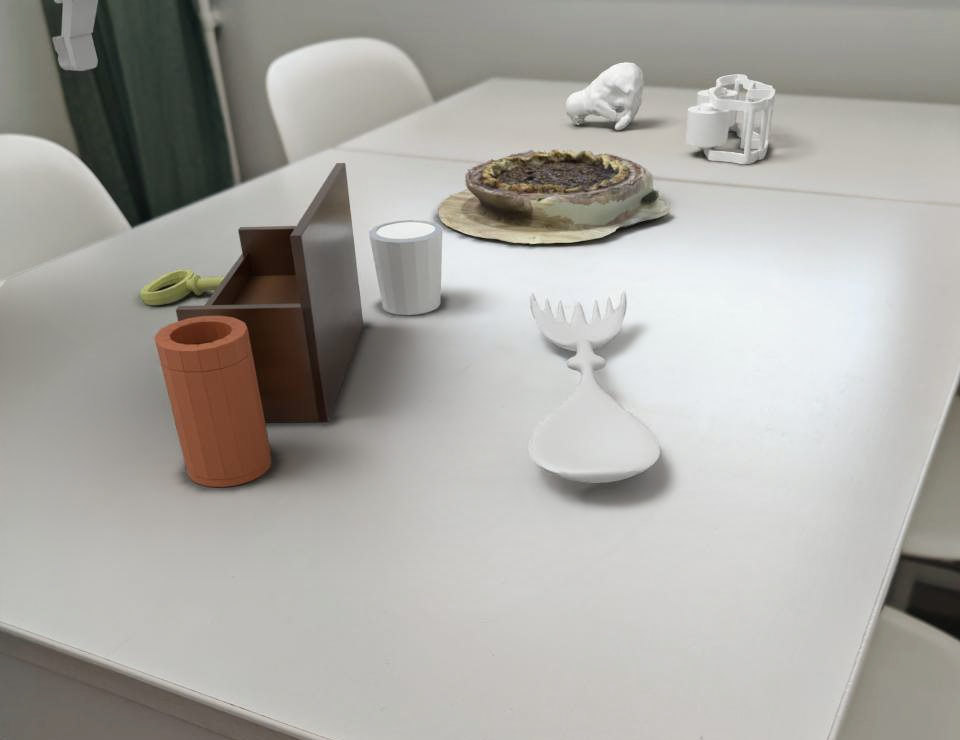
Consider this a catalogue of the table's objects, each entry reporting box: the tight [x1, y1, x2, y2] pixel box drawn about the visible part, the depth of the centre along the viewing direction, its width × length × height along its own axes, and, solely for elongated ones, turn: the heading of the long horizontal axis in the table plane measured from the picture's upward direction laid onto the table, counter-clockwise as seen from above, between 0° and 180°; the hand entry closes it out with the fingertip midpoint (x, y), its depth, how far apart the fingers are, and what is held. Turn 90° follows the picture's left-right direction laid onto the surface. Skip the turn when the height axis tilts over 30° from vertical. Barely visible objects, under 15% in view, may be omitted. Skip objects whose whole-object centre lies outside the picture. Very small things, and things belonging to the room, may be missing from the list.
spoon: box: [528, 290, 661, 484], centre depth 78 cm, size 9×32×4 cm, turn 178°
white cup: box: [368, 219, 443, 316], centre depth 95 cm, size 7×7×7 cm
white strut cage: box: [684, 73, 776, 165], centre depth 139 cm, size 20×11×7 cm, turn 164°
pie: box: [438, 149, 671, 245], centre depth 119 cm, size 28×27×5 cm
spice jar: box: [153, 316, 272, 488], centre depth 69 cm, size 6×6×10 cm
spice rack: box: [175, 162, 364, 423], centre depth 81 cm, size 10×20×14 cm, turn 177°
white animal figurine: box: [565, 61, 645, 132], centre depth 152 cm, size 6×8×12 cm
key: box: [140, 268, 225, 306], centre depth 101 cm, size 7×12×2 cm, turn 96°
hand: (24, 67), depth 62 cm, fingers open, 8 cm apart
